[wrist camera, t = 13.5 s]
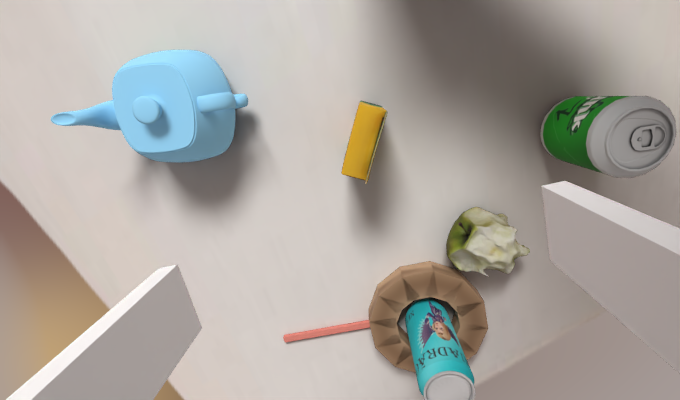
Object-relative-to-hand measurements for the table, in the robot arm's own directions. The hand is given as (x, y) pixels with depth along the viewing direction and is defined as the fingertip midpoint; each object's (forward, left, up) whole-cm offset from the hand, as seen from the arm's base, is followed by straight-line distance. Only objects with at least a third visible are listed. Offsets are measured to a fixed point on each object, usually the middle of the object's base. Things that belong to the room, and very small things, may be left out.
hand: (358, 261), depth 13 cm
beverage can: (+25, +4, -35) cm, 43 cm away
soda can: (+4, +25, -35) cm, 43 cm away
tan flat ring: (+25, +4, -35) cm, 43 cm away
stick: (+25, -10, -35) cm, 44 cm away
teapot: (-9, -20, -35) cm, 41 cm away
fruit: (+15, +12, -35) cm, 40 cm away
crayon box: (-1, +1, -35) cm, 35 cm away
